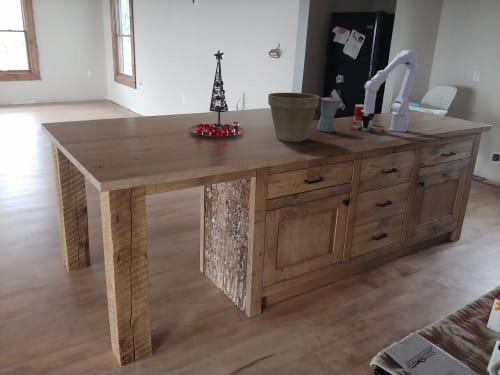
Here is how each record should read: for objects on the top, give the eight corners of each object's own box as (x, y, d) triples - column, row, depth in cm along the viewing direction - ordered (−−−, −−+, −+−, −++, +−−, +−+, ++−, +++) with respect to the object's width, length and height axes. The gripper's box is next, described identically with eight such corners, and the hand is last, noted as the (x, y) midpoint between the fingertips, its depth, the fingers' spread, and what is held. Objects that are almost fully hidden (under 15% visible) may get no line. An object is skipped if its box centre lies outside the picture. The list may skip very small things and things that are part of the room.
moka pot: (338, 133, 242) (342, 96, 235) (309, 131, 244) (313, 94, 238) (338, 130, 251) (342, 93, 244) (311, 128, 253) (314, 92, 247)
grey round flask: (372, 129, 256) (373, 120, 254) (370, 131, 251) (371, 121, 249) (356, 127, 260) (357, 118, 258) (354, 129, 255) (355, 119, 253)
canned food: (363, 125, 268) (365, 106, 265) (350, 123, 273) (353, 105, 269) (368, 123, 274) (370, 105, 271) (356, 121, 279) (358, 104, 275)
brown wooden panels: (383, 129, 257) (383, 127, 257) (379, 133, 248) (379, 130, 248) (355, 126, 264) (356, 124, 264) (350, 129, 255) (350, 127, 255)
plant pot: (258, 134, 231) (260, 91, 224) (301, 132, 240) (304, 91, 233) (278, 145, 209) (281, 98, 202) (324, 143, 218) (329, 98, 211)
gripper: (365, 100, 258) (362, 124, 262) (359, 103, 245) (356, 128, 250) (377, 102, 255) (374, 125, 259) (372, 105, 242) (369, 129, 247)
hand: (366, 127), depth 254 cm, fingers closed on grey round flask, 6 cm apart
